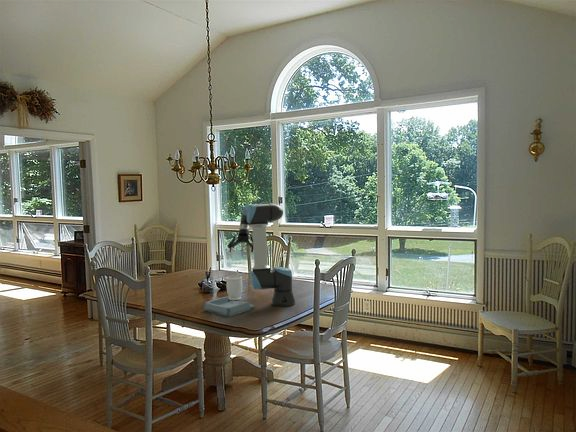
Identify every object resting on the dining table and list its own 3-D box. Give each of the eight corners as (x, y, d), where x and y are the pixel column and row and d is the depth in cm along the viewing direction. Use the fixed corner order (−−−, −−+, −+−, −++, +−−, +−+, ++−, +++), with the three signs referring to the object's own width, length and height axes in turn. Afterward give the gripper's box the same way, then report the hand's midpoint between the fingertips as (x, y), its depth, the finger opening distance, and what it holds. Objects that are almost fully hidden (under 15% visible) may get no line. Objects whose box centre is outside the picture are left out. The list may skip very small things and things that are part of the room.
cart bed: (256, 307, 273) (255, 300, 273) (228, 316, 255) (228, 308, 255) (232, 302, 287) (231, 294, 287) (204, 310, 270) (204, 302, 269)
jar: (227, 301, 290) (226, 279, 288) (226, 297, 300) (225, 276, 299) (243, 300, 292) (242, 278, 291) (241, 296, 302) (241, 275, 301)
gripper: (261, 234, 320) (259, 258, 307) (228, 235, 323) (224, 258, 309) (260, 228, 315) (257, 252, 301) (226, 228, 317) (221, 252, 303)
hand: (240, 255), depth 305 cm, fingers open, 13 cm apart
